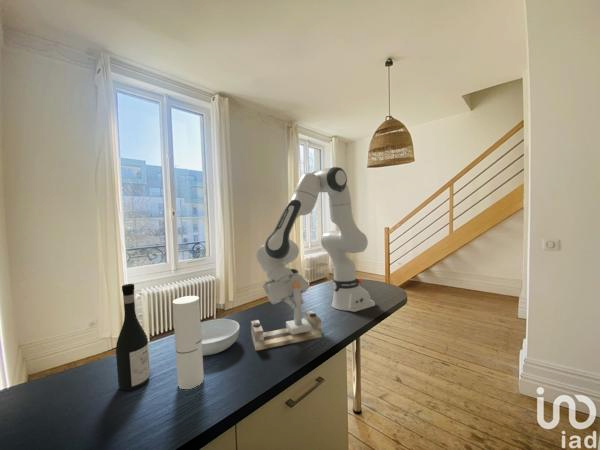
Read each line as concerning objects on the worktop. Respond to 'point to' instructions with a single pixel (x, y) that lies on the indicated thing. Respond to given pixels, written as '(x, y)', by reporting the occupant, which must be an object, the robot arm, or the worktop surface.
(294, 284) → the carriage
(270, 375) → the worktop surface
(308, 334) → the rail
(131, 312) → the wine bottle
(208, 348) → the serving bowl
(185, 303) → the cylindrical container
